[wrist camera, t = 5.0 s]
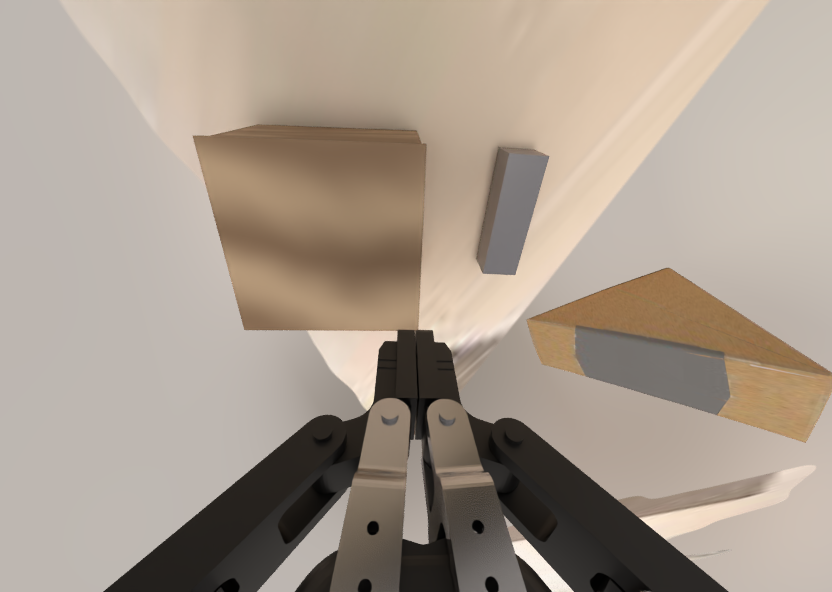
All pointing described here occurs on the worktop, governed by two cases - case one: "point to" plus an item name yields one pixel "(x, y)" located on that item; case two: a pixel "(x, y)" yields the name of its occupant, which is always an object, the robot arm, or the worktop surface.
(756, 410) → the sandwich container
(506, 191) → the gray rectangular block
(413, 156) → the lid
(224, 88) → the worktop surface
